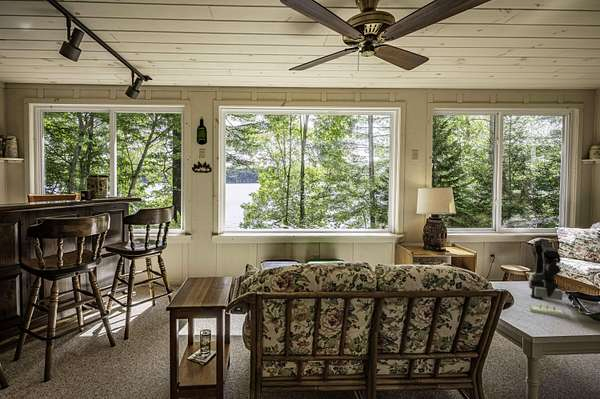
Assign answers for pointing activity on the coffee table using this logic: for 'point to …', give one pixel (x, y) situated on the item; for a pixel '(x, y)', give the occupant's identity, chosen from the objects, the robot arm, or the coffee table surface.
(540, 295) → the panel
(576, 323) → the coffee table surface
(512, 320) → the coffee table surface
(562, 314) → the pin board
